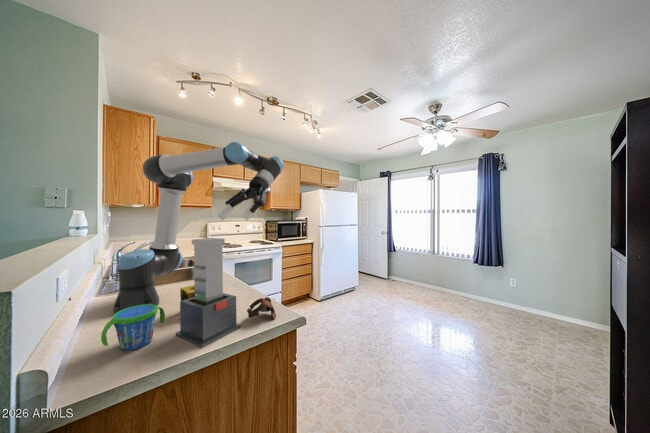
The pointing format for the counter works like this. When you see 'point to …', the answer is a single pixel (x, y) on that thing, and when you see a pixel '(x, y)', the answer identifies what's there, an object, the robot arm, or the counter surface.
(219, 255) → the column
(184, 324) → the sleeve
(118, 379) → the counter surface
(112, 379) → the counter surface
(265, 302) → the brown curved open arch
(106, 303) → the counter surface
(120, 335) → the snack cup
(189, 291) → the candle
